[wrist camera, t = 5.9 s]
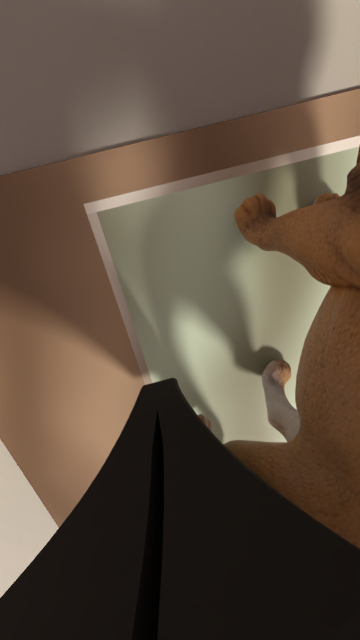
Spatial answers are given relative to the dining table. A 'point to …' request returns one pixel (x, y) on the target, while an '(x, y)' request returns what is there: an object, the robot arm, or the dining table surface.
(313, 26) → the dining table surface
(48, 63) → the dining table surface
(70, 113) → the dining table surface
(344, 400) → the lion figurine
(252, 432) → the picture sheet
